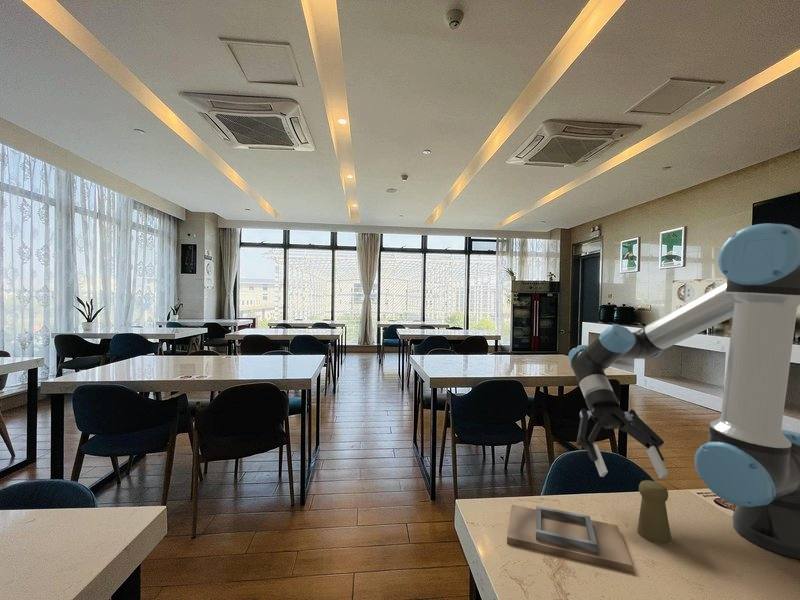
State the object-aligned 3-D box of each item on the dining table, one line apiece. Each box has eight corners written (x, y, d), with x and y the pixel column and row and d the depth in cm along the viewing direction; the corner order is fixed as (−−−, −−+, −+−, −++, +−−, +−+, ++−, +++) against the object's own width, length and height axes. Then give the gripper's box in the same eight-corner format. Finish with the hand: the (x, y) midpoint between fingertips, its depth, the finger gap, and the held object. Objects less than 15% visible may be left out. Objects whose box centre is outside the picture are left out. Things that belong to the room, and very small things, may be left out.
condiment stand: (617, 530, 78) (617, 517, 79) (632, 572, 65) (632, 556, 66) (511, 509, 86) (511, 498, 86) (506, 543, 73) (506, 529, 73)
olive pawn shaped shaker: (678, 546, 73) (676, 491, 74) (644, 542, 74) (643, 487, 75) (662, 529, 79) (661, 478, 80) (632, 526, 80) (631, 475, 81)
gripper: (639, 404, 101) (680, 483, 85) (549, 401, 101) (573, 480, 86) (651, 388, 96) (698, 470, 80) (556, 386, 96) (584, 466, 81)
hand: (634, 475), depth 83 cm, fingers open, 13 cm apart
